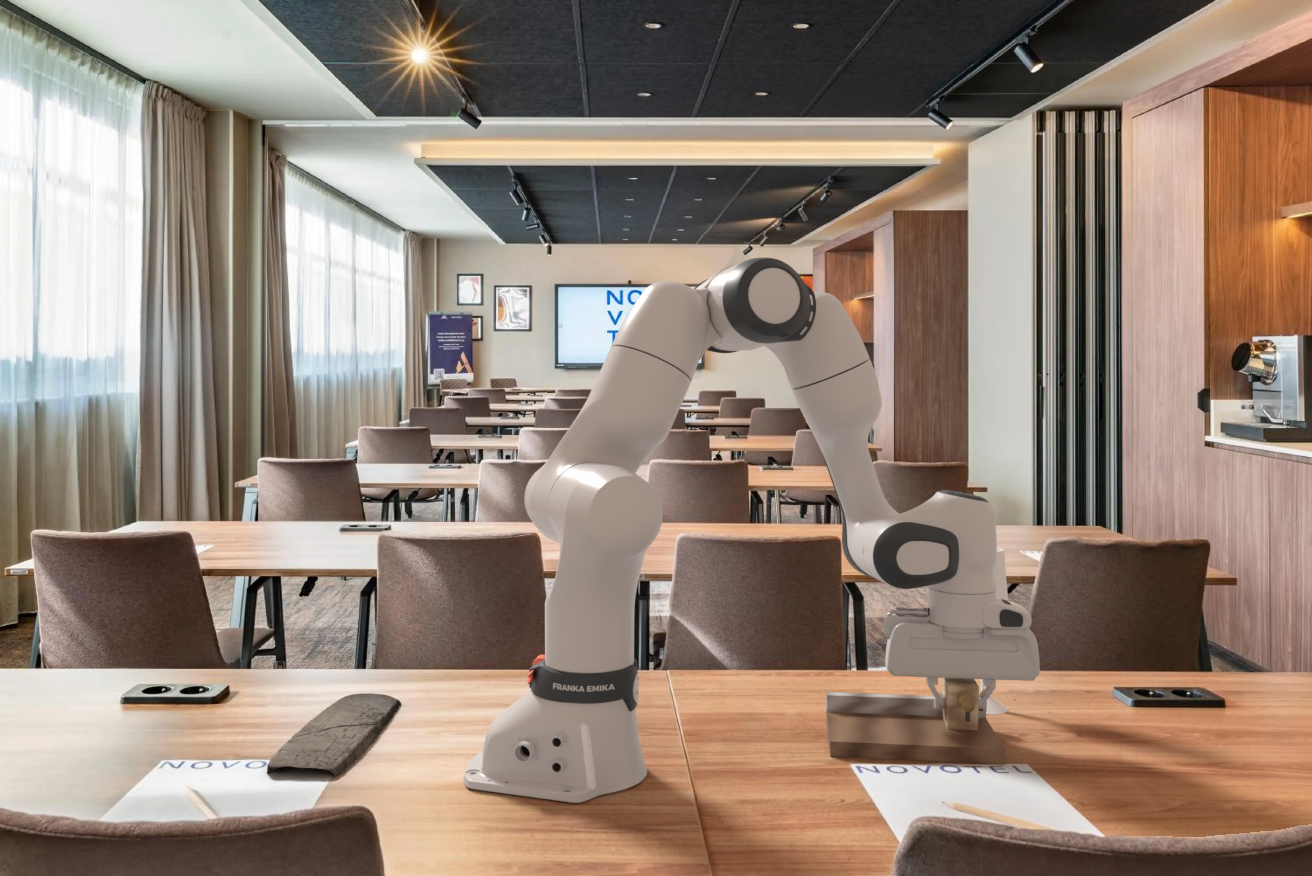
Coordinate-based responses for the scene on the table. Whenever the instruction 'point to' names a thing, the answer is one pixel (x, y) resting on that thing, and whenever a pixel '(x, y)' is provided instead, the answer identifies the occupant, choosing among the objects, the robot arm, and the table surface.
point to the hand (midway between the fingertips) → (960, 709)
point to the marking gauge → (961, 703)
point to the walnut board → (904, 730)
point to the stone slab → (337, 734)
